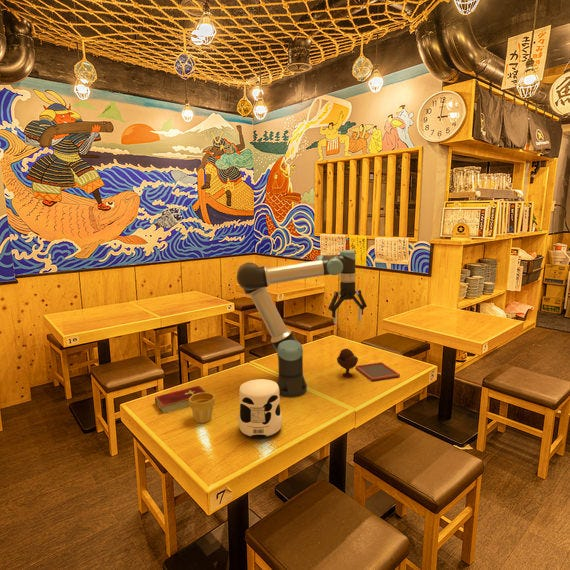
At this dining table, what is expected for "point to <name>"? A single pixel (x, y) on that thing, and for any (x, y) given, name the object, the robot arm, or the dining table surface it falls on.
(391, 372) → the serving tray
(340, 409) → the dining table surface
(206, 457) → the dining table surface
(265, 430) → the milk container
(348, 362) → the ice cream bowl
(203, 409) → the plant pot
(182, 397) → the hardcover book
